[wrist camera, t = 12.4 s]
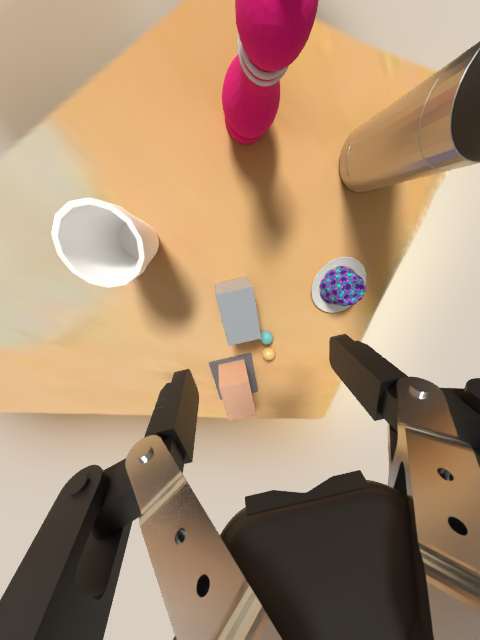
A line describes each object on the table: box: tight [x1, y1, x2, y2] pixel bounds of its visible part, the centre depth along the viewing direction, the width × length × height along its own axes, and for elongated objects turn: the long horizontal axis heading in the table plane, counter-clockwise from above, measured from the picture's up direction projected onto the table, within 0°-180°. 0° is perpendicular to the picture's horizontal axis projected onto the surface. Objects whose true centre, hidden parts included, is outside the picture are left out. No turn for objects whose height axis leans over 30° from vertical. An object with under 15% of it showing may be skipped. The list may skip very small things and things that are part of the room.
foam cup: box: [51, 198, 159, 288], centre depth 28 cm, size 10×9×13 cm
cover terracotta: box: [218, 359, 256, 421], centre depth 45 cm, size 6×10×8 cm, turn 11°
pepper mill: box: [222, 0, 318, 144], centre depth 20 cm, size 7×7×20 cm
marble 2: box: [262, 347, 275, 360], centre depth 45 cm, size 3×3×3 cm
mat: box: [209, 353, 258, 400], centre depth 49 cm, size 10×12×1 cm
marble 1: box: [260, 331, 273, 344], centre depth 43 cm, size 3×3×3 cm
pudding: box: [312, 257, 366, 313], centre depth 39 cm, size 12×12×5 cm
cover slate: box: [216, 277, 261, 346], centre depth 37 cm, size 6×10×8 cm, turn 11°
